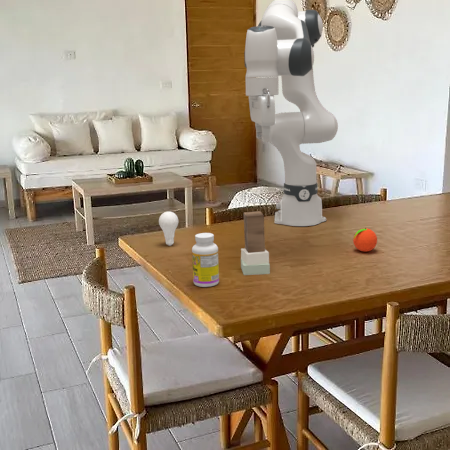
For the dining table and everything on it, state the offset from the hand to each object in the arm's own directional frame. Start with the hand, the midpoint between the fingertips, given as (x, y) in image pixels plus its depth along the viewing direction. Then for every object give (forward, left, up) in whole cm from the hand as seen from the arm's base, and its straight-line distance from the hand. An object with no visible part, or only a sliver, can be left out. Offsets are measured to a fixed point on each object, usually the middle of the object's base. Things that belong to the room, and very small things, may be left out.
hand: (262, 140), depth 163 cm
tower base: (+10, -4, -34) cm, 36 cm away
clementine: (-2, +30, -34) cm, 46 cm away
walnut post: (+9, -4, -28) cm, 30 cm away
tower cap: (+10, -4, -32) cm, 33 cm away
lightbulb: (-20, -27, -34) cm, 48 cm away
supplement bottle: (+18, -18, -34) cm, 43 cm away
